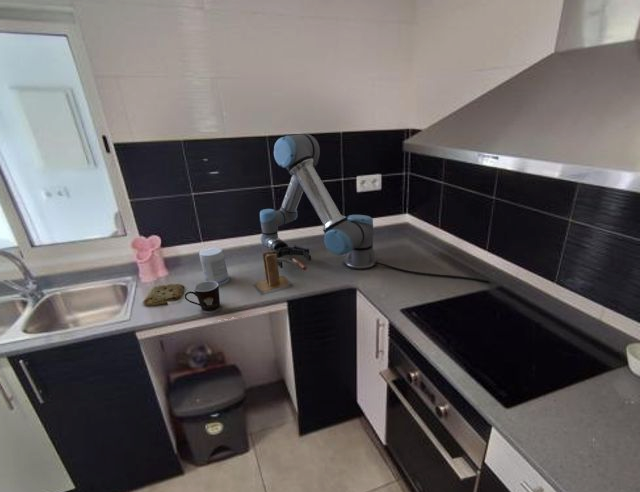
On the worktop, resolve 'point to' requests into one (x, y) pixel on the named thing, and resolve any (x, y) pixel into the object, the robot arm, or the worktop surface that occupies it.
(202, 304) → the coffee mug
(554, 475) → the worktop surface
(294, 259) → the lever
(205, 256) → the supplement tub
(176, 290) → the pastry
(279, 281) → the bracket
